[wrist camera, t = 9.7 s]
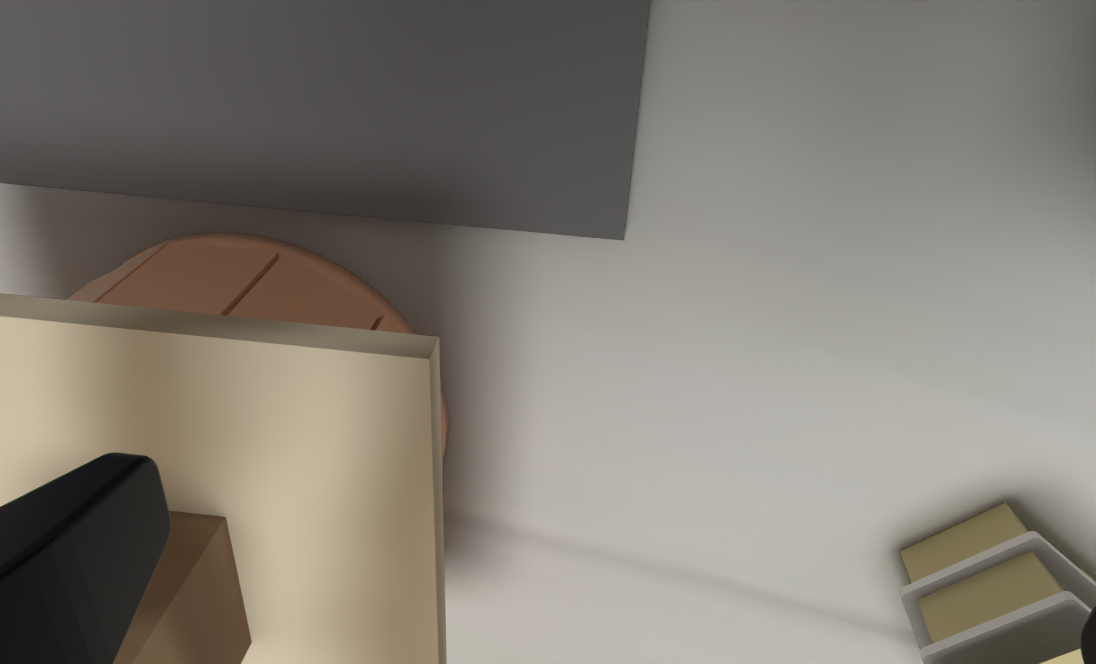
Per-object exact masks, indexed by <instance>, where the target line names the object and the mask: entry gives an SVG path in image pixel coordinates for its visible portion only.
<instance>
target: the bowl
mask: <svg viewBox="0 0 1096 664" xmlns="http://www.w3.org/2000/svg"><path fill="white" fill-rule="evenodd" d="M67 300H72V301H82V302H92V303H102V304H112V305H122V306H133V307H143V308H153V309H163V310H173V311H183V312H194V313H204V314H214V315H224V316H234V317H244V318H255V319H265V320H275V321H285V322H295V323H305V324H315V325H326V326H336V327H346V328H356V329H366V330H376V331H387V332H397V333H407V334H416V333H415V332H414V330H413V329H412V328H411V326H410V325H409V324H408V322H407V321H406V320H405V319H404V318H403V317H402V315H401V314H400V313H399V312H398V311H397V310H396V309H395V308H394V307H393V306H392V305H391V304H390V303H389V302H388V301H387V300H386V299H385V298H384V297H382V296H381V295H380V294H379V293H378V292H377V291H375V290H374V289H373V288H372V287H371V286H369V285H368V284H367V283H366V282H364V281H363V280H361V279H360V278H358V277H357V276H355V275H354V274H352V273H351V272H349V271H348V270H346V269H345V268H343V267H341V266H339V265H337V264H335V263H334V262H332V261H330V260H328V259H326V258H324V257H322V256H320V255H318V254H316V253H313V252H311V251H308V250H306V249H303V248H301V247H298V246H296V245H293V244H289V243H286V242H282V241H278V240H275V239H271V238H267V237H262V236H255V235H249V234H242V233H219V232H212V233H202V234H192V235H186V236H182V237H178V238H174V239H170V240H166V241H163V242H161V243H158V244H156V245H154V246H151V247H149V248H146V249H144V250H143V251H141V252H140V253H138V254H136V255H135V256H133V257H132V258H130V259H128V260H127V261H126V262H124V263H123V264H122V265H120V266H119V267H118V268H116V269H114V270H113V271H111V272H109V273H107V274H105V275H103V276H101V277H99V278H97V279H95V280H93V281H91V282H89V283H88V284H86V285H85V286H84V287H83V288H81V289H80V290H79V291H77V292H76V293H75V294H73V295H72V296H71V297H69V298H68V299H67ZM440 394H441V439H442V461H443V458H444V453H445V449H446V445H447V437H448V413H447V403H446V399H445V395H444V391H443V387H442V383H441V380H440ZM442 480H443V467H442Z"/></svg>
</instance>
